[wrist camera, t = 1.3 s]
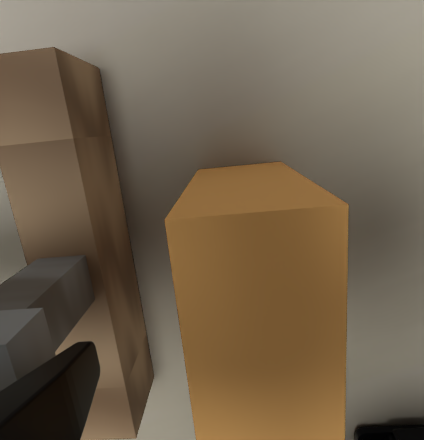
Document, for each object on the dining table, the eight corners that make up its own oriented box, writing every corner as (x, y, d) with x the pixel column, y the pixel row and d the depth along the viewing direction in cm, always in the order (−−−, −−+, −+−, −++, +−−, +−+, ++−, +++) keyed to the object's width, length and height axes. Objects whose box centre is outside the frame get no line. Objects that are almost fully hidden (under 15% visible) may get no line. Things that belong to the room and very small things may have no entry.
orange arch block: (286, 292, 17) (344, 454, 9) (212, 297, 18) (198, 459, 9) (280, 161, 16) (348, 204, 7) (198, 169, 16) (164, 220, 7)
